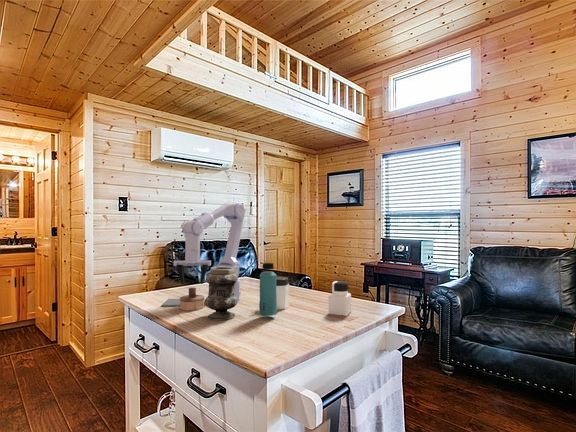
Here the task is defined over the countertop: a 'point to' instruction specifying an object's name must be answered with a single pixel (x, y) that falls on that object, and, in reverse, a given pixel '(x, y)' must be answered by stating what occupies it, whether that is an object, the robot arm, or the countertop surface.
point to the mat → (171, 303)
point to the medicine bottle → (340, 299)
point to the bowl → (191, 305)
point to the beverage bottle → (268, 291)
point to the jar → (282, 292)
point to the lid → (192, 296)
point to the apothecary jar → (221, 292)
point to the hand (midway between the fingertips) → (192, 283)
